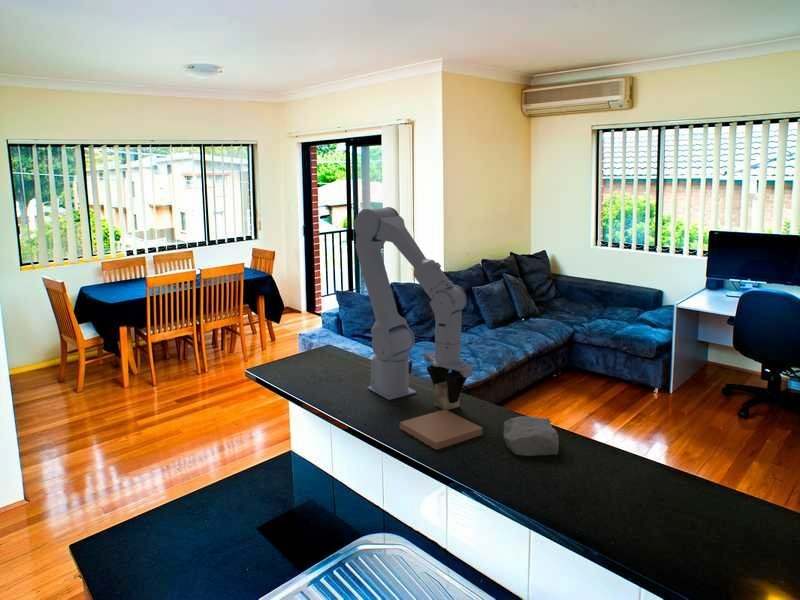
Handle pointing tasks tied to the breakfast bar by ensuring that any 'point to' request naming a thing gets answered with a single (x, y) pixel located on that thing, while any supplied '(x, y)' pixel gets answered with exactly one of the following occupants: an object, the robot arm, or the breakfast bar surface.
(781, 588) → the breakfast bar surface
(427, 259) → the robot arm
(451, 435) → the terracotta tile
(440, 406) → the birch block
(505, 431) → the stone block
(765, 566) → the breakfast bar surface
